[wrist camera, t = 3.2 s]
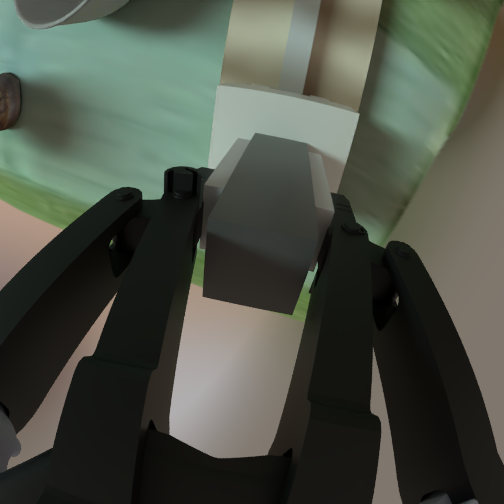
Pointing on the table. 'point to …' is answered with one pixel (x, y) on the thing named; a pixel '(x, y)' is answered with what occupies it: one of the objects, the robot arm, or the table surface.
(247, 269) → the carriage
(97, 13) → the teacup
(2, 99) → the mortar and pestle
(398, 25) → the table surface
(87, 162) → the table surface
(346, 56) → the rail board
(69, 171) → the table surface
